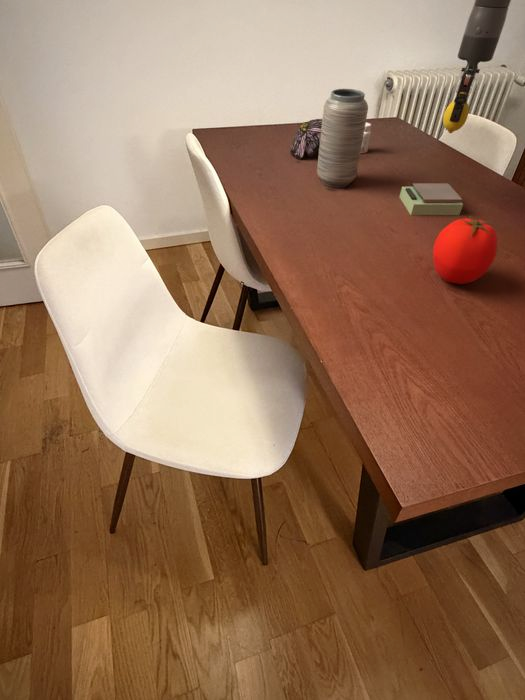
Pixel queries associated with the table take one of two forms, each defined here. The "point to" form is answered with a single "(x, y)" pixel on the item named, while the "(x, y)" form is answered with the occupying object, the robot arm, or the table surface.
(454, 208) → the scale
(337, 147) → the vase
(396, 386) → the table surface
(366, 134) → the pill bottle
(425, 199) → the scale pan
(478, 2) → the robot arm
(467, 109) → the lemon
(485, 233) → the tomato
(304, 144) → the decorative flower
